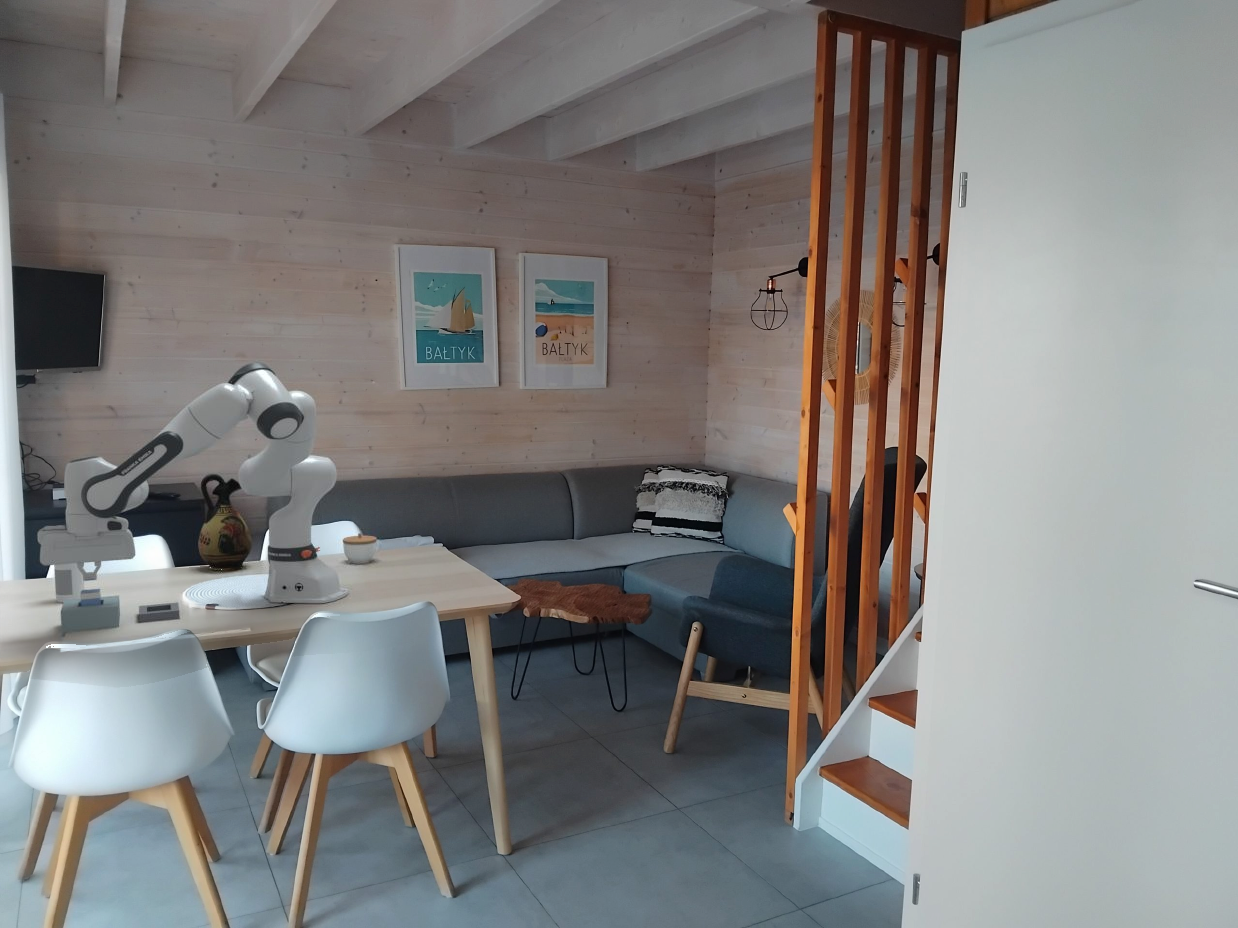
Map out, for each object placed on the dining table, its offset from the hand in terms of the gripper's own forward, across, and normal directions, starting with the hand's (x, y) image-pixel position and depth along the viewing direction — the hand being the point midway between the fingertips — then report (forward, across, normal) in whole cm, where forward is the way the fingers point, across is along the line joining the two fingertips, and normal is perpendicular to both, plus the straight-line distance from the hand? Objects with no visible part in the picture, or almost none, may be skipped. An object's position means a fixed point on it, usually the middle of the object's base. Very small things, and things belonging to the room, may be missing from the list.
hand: (90, 580), depth 232 cm
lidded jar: (+12, +75, +52) cm, 92 cm away
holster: (+12, +15, +1) cm, 19 cm away
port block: (+12, 0, 0) cm, 12 cm away
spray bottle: (+12, -6, +33) cm, 36 cm away
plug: (+12, 0, 0) cm, 12 cm away
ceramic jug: (+12, +34, +59) cm, 69 cm away
